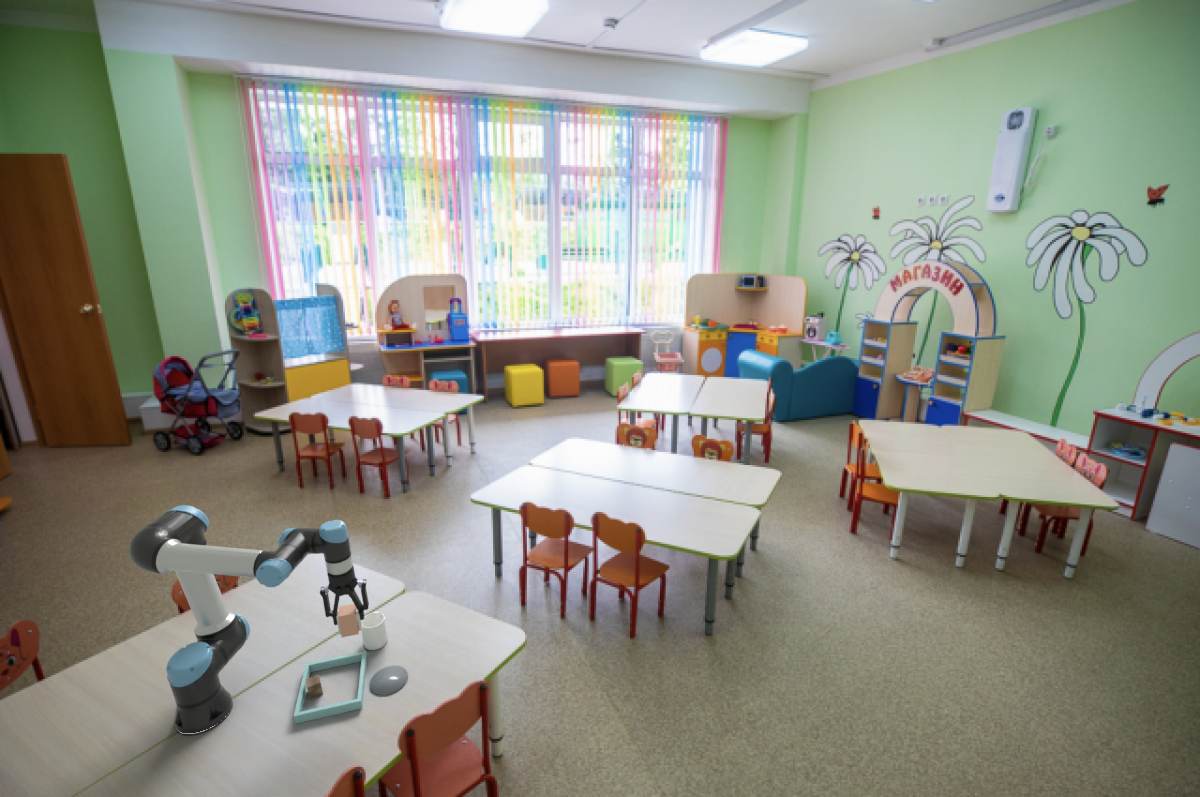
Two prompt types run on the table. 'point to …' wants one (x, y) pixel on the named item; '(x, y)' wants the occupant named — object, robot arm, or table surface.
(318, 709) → the corral
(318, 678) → the walnut block
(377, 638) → the cup
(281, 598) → the table surface
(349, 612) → the painted box
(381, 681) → the grey dome puck
